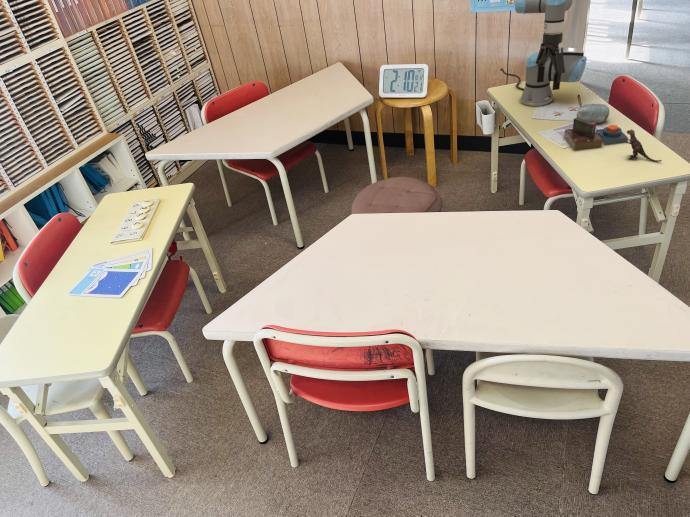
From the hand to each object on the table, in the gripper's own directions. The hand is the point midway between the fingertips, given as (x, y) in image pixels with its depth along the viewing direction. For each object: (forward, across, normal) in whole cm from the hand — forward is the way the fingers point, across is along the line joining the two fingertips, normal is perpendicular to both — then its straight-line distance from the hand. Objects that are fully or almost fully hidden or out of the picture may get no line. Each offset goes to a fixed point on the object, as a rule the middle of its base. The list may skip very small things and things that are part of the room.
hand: (547, 85), depth 227 cm
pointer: (+19, +13, +11) cm, 26 cm away
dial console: (+23, +13, +12) cm, 28 cm away
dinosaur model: (+24, +36, +23) cm, 49 cm away
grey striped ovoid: (+21, -3, +25) cm, 33 cm away
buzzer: (+22, +15, +23) cm, 36 cm away
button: (+19, +15, +23) cm, 33 cm away
